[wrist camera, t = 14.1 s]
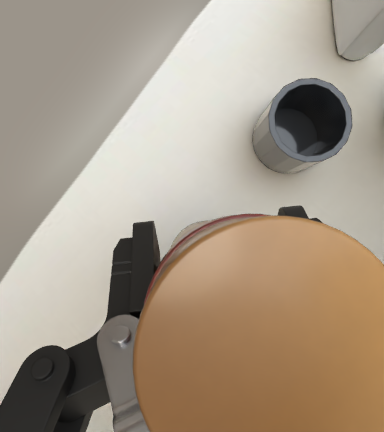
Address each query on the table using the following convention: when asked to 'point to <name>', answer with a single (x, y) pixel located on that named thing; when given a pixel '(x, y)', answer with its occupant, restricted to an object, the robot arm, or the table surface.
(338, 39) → the photo printer
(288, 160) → the cup
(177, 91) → the table surface
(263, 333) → the red-banded tan cylinder
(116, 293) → the robot arm
